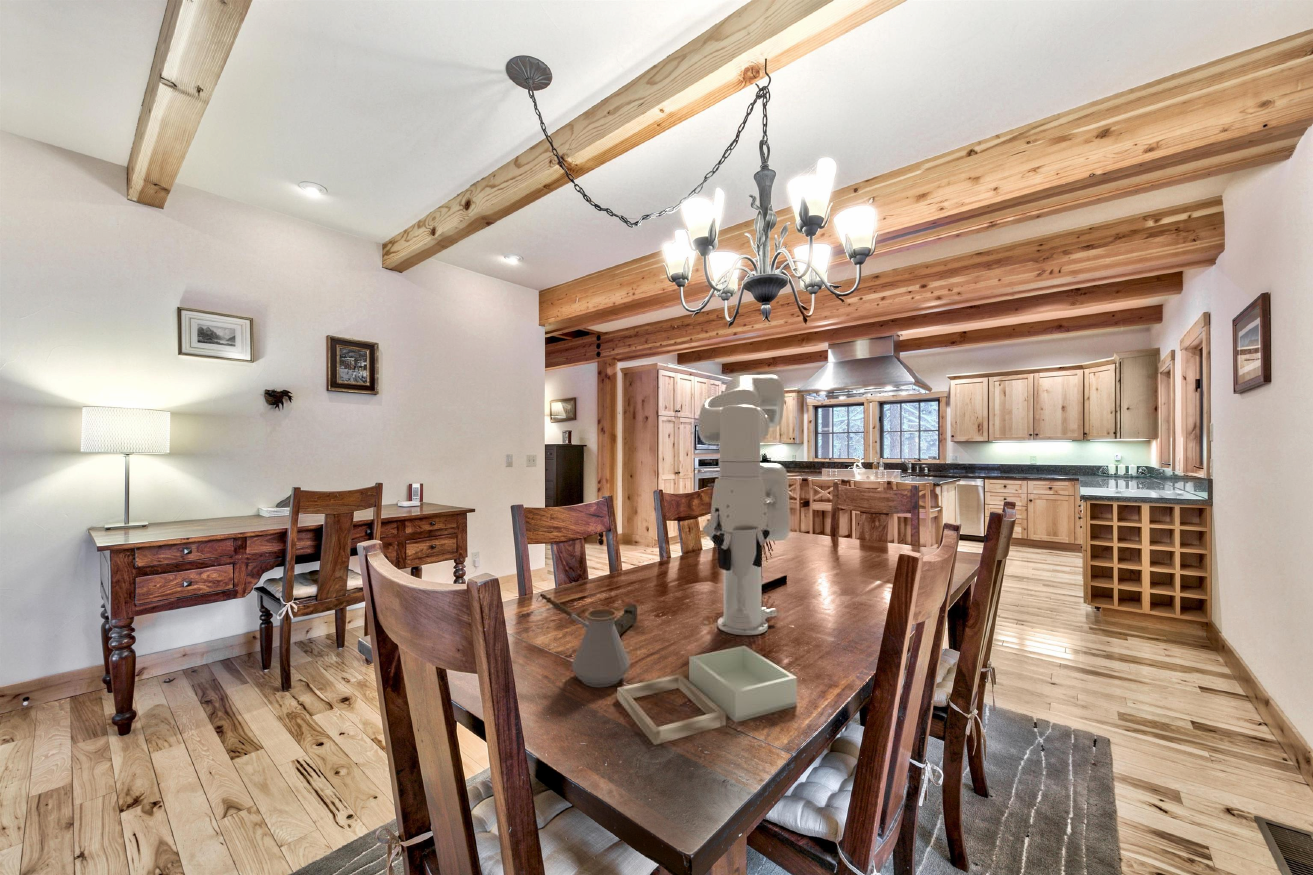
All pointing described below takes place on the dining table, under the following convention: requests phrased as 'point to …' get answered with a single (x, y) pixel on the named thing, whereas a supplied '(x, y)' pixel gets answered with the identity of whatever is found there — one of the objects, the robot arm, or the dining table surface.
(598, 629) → the coffee pot
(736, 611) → the chalice
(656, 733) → the ash frame
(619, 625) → the hand tool
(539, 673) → the dining table surface
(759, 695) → the sage bin
